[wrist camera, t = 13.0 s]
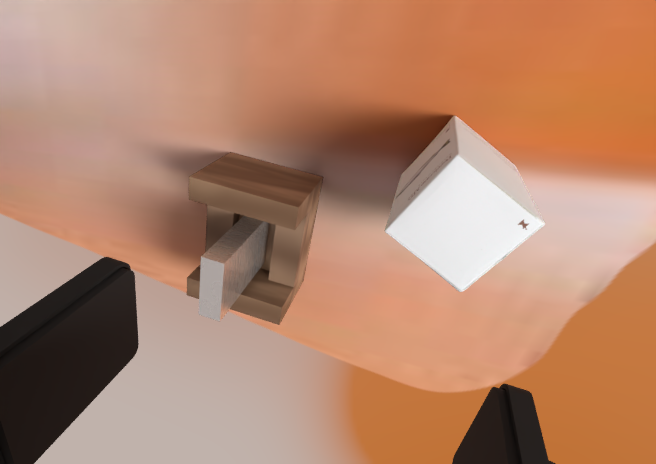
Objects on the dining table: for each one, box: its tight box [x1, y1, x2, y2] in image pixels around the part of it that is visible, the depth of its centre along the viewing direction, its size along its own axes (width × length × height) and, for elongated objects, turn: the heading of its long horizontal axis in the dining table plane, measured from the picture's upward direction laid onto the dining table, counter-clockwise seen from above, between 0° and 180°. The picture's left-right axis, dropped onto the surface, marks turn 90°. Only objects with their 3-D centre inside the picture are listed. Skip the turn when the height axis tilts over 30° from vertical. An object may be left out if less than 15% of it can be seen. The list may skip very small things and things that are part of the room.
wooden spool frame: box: [187, 152, 323, 325], centre depth 41 cm, size 13×10×8 cm
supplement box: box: [385, 116, 545, 292], centre depth 32 cm, size 7×7×13 cm
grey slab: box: [199, 216, 269, 321], centre depth 38 cm, size 6×2×10 cm, turn 169°
